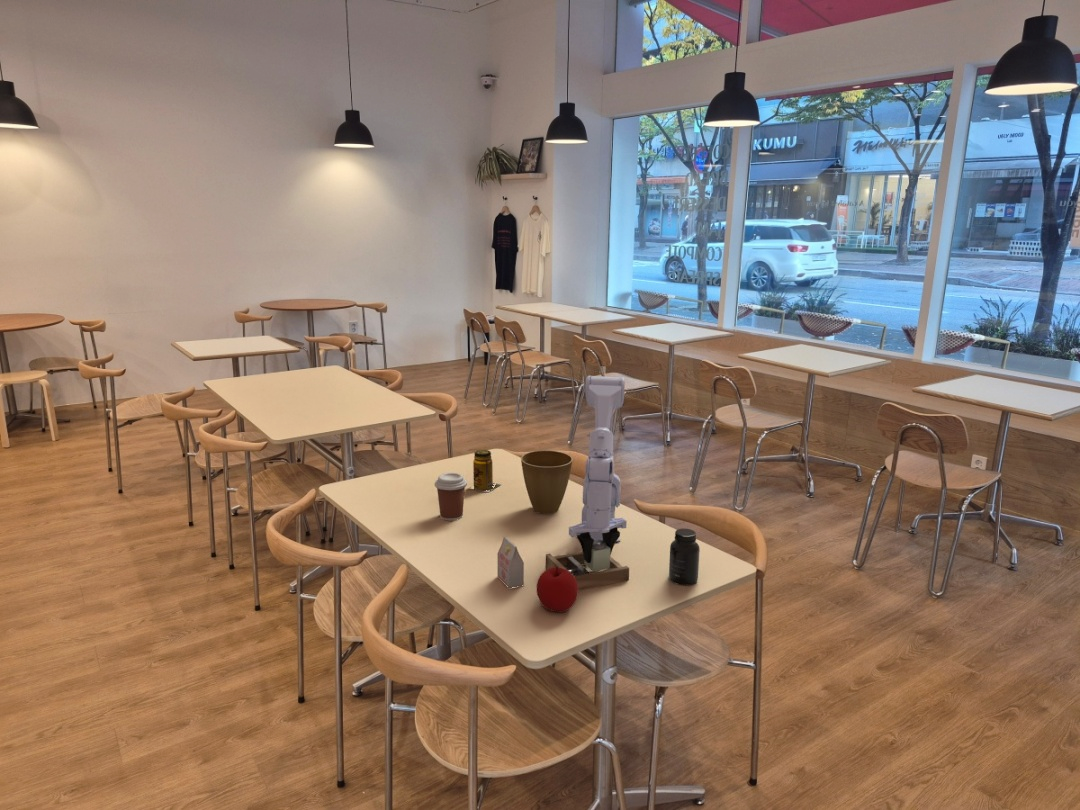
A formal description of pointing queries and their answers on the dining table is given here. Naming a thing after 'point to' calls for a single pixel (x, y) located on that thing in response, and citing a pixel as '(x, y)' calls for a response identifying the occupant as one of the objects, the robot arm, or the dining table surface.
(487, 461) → the condiment
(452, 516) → the coffee cup
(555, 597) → the apple
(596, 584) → the brown wooden shallow box
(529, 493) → the plant pot
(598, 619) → the dining table surface
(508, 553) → the milk carton
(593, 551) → the jar
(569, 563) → the pusher plate
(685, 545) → the supplement bottle
